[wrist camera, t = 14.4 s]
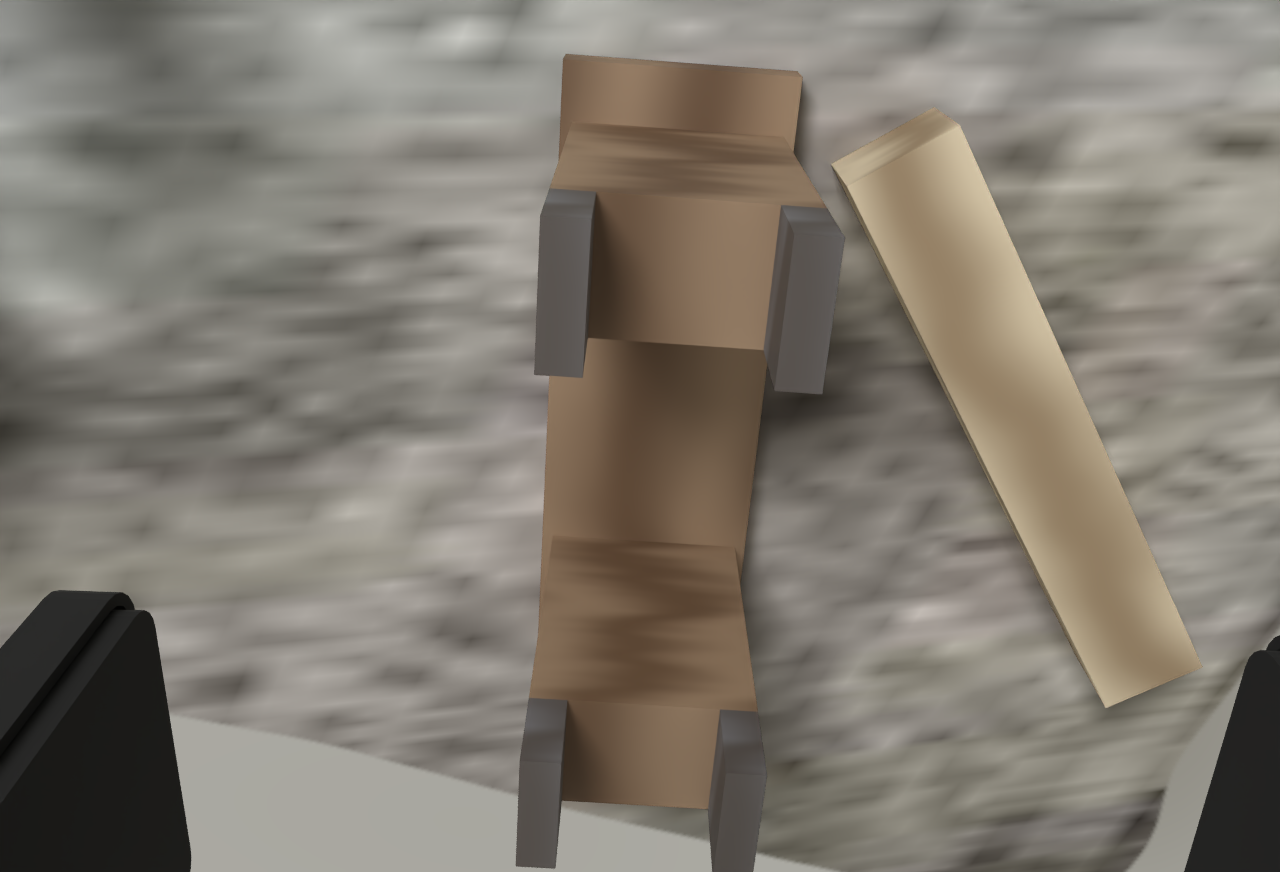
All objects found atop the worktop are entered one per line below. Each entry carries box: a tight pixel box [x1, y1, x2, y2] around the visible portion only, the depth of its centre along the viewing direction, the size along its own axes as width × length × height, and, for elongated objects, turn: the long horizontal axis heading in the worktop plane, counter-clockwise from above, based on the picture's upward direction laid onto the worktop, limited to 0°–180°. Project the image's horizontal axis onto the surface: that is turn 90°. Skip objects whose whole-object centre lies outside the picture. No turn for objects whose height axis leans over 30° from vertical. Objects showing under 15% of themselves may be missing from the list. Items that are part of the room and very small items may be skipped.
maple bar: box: [831, 107, 1202, 708], centre depth 44 cm, size 4×24×4 cm, turn 30°
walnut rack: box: [516, 54, 845, 872], centre depth 39 cm, size 8×24×15 cm, turn 176°
